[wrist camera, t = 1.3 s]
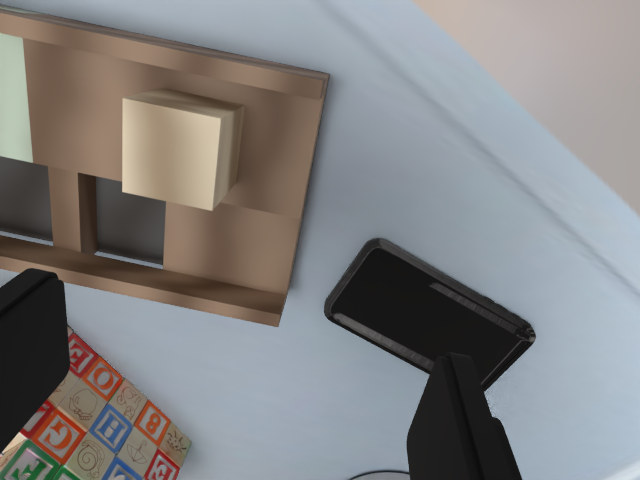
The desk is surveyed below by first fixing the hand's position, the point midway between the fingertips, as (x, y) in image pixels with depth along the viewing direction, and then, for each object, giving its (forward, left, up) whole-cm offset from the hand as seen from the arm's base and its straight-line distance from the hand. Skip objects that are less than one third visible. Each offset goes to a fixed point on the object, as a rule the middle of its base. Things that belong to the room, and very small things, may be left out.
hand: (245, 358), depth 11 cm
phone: (-11, +11, -22) cm, 26 cm away
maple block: (+7, 0, -19) cm, 20 cm away
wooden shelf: (+13, +3, -21) cm, 25 cm away
